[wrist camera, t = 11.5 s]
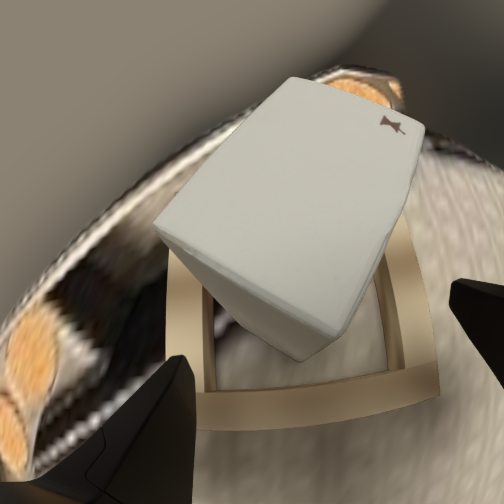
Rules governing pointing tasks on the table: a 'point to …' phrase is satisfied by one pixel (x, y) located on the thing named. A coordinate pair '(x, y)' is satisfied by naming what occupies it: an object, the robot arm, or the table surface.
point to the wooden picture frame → (319, 394)
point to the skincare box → (296, 212)
